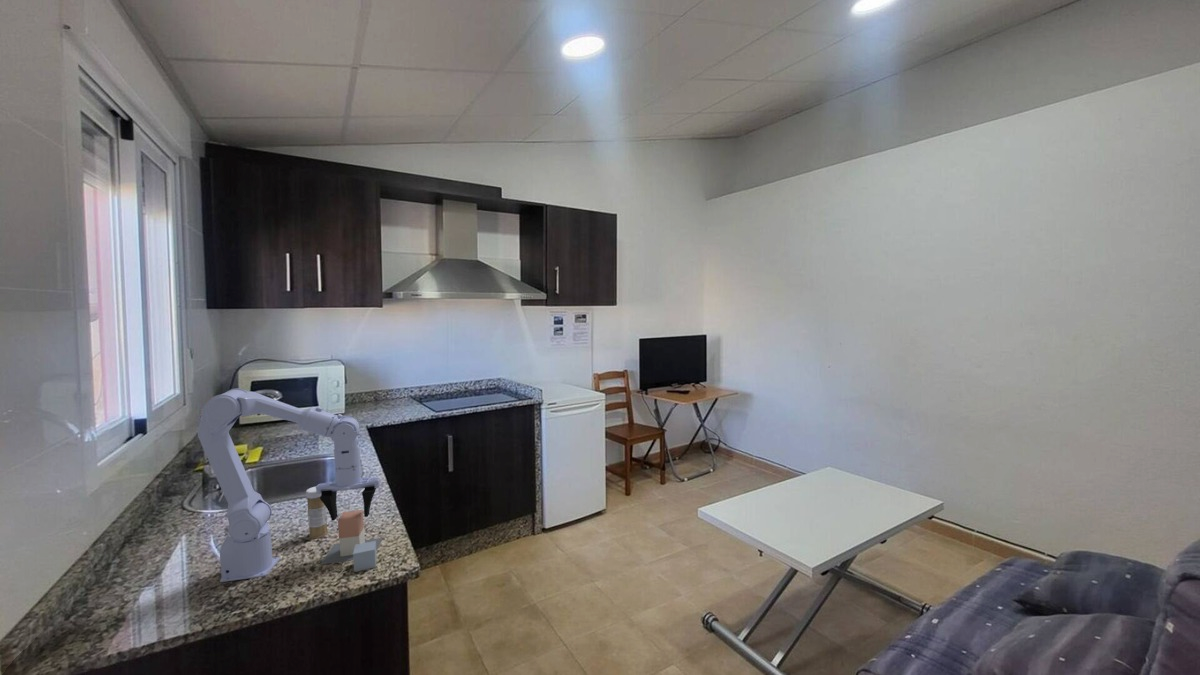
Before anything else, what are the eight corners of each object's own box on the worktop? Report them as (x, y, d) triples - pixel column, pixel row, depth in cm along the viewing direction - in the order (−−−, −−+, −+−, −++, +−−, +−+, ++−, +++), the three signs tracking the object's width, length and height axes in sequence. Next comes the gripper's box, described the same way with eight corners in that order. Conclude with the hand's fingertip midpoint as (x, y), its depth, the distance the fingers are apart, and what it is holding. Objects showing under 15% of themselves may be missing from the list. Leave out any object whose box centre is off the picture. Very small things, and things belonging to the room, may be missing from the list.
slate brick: (354, 573, 110) (353, 553, 110) (356, 563, 114) (355, 544, 114) (375, 568, 112) (374, 549, 111) (376, 559, 116) (375, 540, 116)
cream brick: (340, 556, 117) (339, 538, 116) (346, 547, 121) (345, 529, 121) (360, 553, 118) (359, 535, 117) (365, 544, 122) (364, 527, 122)
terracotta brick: (339, 538, 116) (337, 520, 116) (344, 529, 121) (343, 512, 120) (358, 536, 117) (357, 517, 117) (363, 527, 122) (362, 509, 121)
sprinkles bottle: (314, 532, 131) (311, 485, 130) (331, 530, 131) (328, 484, 130) (305, 540, 126) (302, 492, 125) (323, 539, 127) (320, 491, 126)
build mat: (320, 565, 113) (320, 564, 113) (334, 545, 123) (334, 544, 123) (373, 558, 116) (373, 557, 116) (382, 539, 126) (382, 537, 126)
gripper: (310, 473, 112) (313, 527, 113) (374, 467, 116) (377, 520, 117) (320, 464, 119) (323, 515, 120) (381, 458, 123) (383, 508, 123)
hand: (350, 516), depth 119 cm, fingers open, 7 cm apart
